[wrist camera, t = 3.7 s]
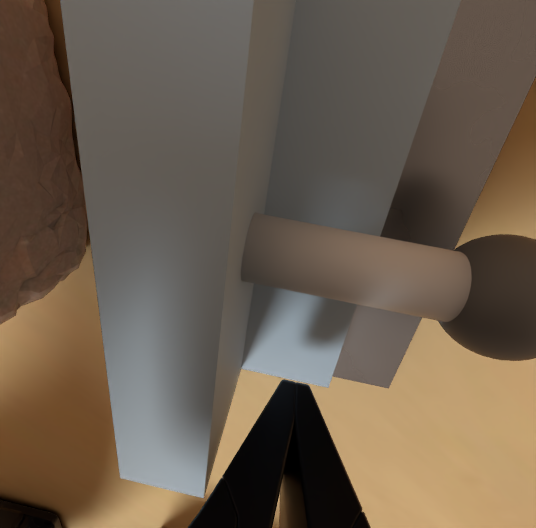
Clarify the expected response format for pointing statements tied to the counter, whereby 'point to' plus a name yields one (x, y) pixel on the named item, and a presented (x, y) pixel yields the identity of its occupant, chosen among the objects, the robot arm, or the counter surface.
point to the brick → (35, 163)
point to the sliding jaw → (260, 205)
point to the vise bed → (449, 160)
